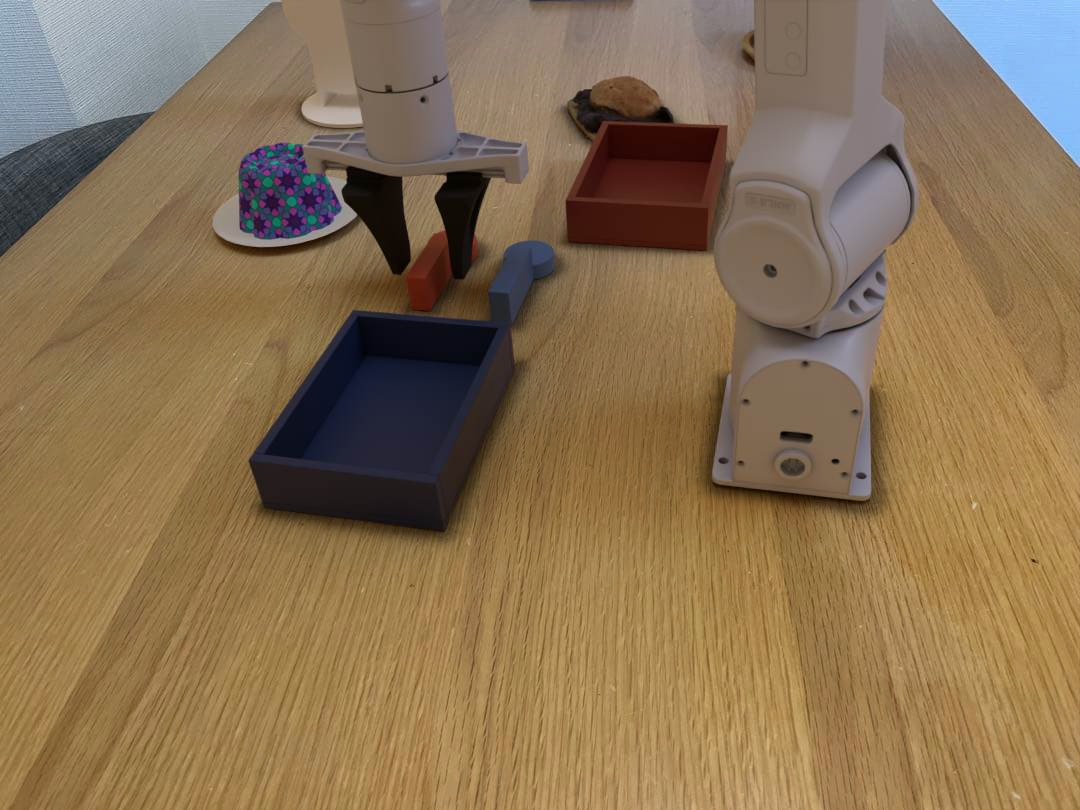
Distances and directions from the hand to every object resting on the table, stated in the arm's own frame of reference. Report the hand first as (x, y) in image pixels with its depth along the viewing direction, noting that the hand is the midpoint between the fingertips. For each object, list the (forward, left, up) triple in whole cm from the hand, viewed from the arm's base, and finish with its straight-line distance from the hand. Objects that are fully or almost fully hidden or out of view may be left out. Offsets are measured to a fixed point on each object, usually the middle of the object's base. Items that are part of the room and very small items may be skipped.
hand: (432, 269), depth 68 cm
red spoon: (+2, 0, -1) cm, 2 cm away
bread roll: (+30, -8, -2) cm, 31 cm away
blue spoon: (0, -6, -1) cm, 6 cm away
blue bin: (-16, -3, -1) cm, 16 cm away
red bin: (+14, -13, -1) cm, 20 cm away
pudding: (+8, +15, -2) cm, 17 cm away
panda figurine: (+32, +18, -2) cm, 36 cm away
